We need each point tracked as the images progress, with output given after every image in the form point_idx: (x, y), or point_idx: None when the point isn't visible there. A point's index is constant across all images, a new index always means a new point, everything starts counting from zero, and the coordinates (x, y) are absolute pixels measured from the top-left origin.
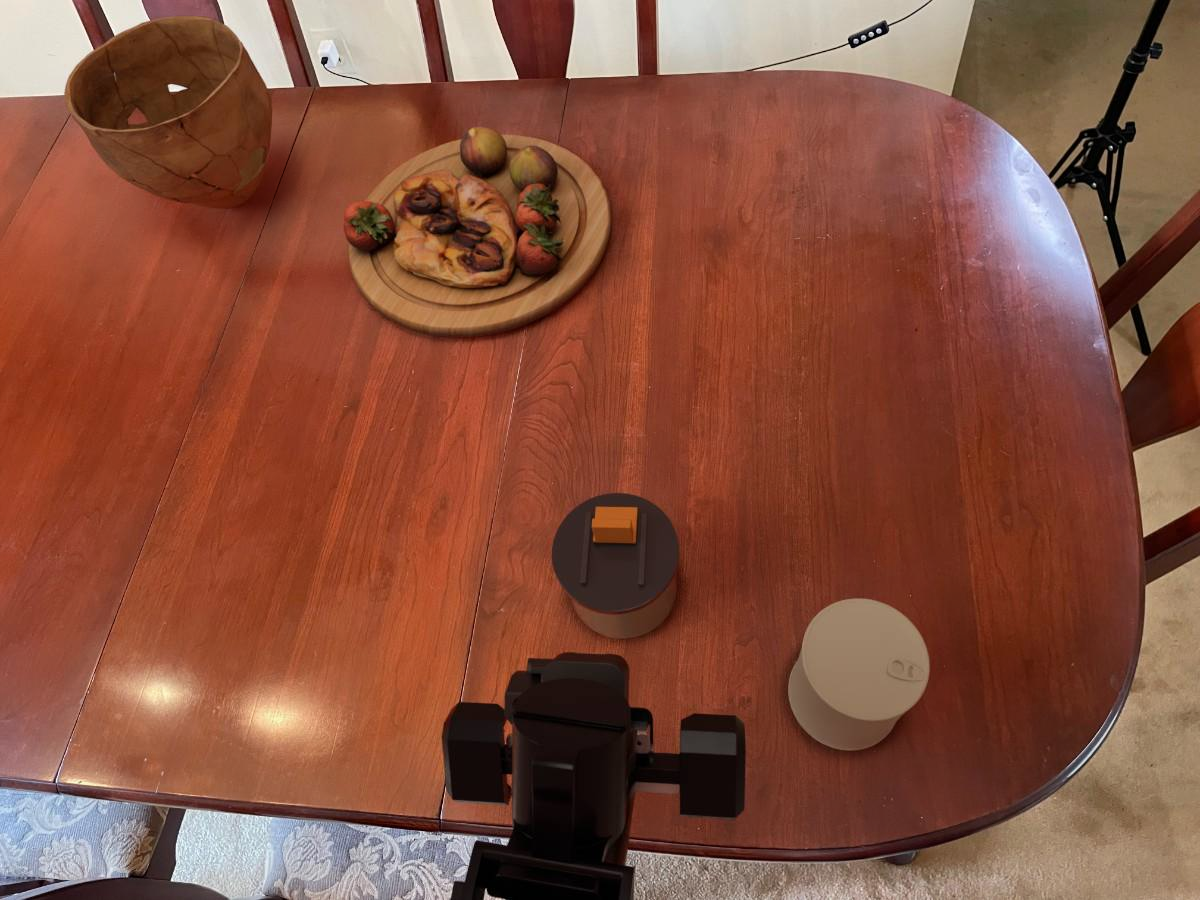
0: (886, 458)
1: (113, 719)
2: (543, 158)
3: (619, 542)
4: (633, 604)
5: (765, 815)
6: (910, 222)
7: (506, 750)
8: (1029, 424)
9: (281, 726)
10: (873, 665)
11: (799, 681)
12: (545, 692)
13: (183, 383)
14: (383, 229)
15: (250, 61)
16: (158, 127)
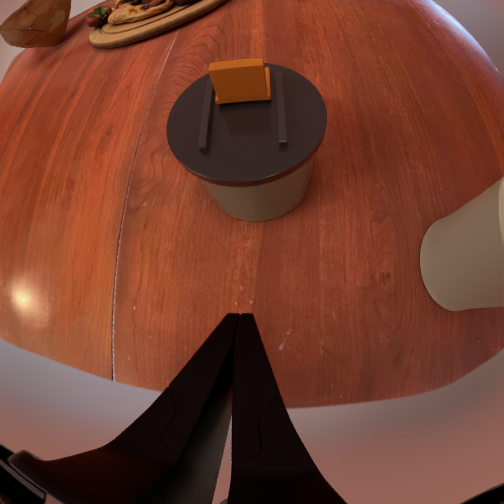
0: (441, 91)
1: None
2: None
3: (249, 99)
4: (274, 170)
5: (398, 376)
6: (400, 2)
7: (11, 496)
8: (493, 93)
9: (24, 305)
10: None
11: (465, 260)
12: None
13: (15, 117)
14: (105, 13)
15: None
16: (17, 13)
